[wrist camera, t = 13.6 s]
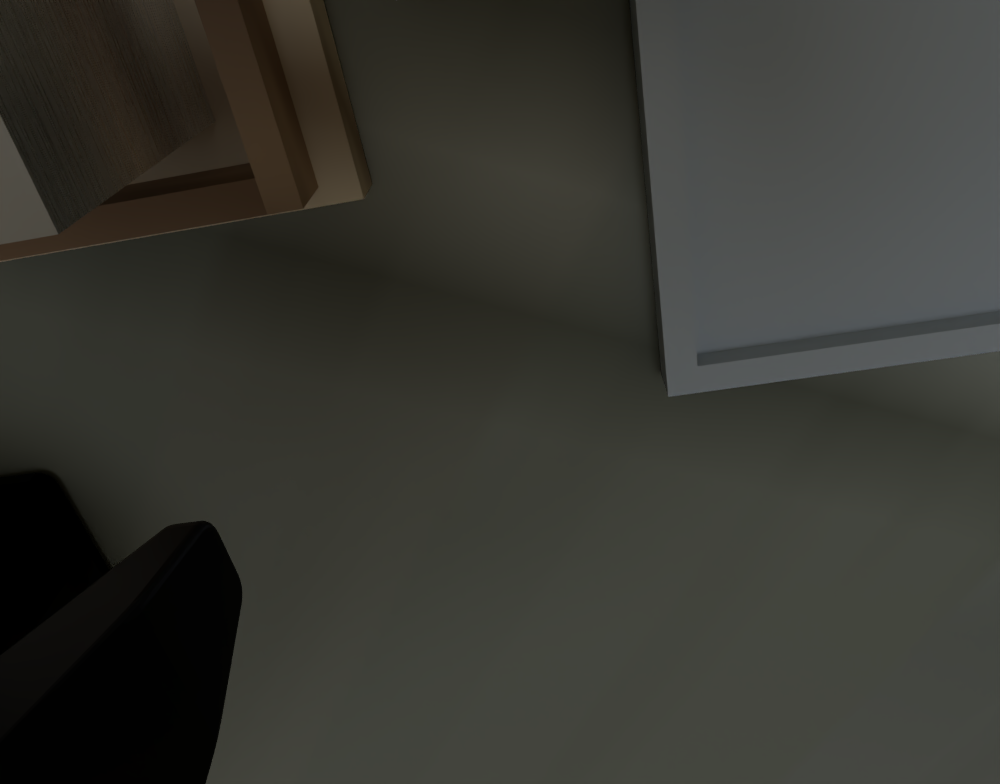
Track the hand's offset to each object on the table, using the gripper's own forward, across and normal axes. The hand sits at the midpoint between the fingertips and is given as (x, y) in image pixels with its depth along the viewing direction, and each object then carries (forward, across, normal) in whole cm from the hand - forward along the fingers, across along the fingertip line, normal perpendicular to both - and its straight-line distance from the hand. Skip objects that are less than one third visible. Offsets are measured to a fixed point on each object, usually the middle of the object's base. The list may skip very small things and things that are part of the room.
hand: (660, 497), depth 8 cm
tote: (+13, -7, +1) cm, 15 cm away
